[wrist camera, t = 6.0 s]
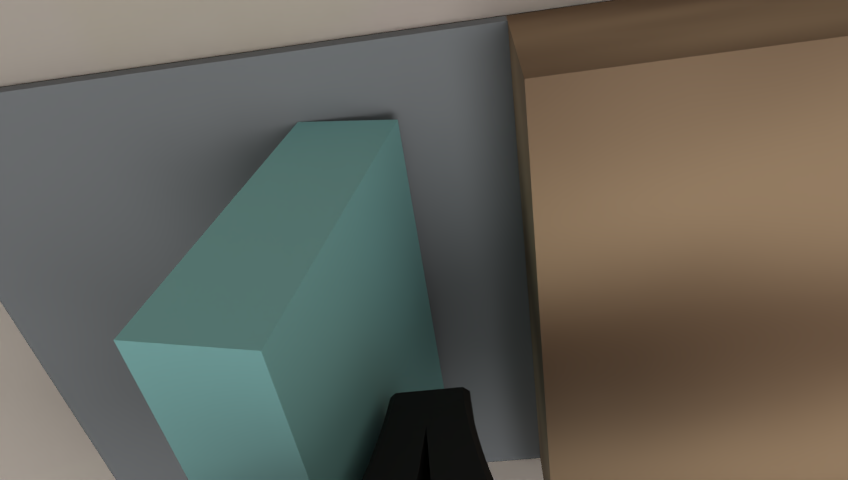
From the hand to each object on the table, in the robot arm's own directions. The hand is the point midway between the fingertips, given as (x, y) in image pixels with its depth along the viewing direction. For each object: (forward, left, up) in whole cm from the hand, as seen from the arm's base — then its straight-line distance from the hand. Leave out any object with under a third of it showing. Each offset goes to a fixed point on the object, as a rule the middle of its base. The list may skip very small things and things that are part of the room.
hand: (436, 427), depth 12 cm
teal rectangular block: (0, +1, 0) cm, 1 cm away
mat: (0, +4, -4) cm, 6 cm away
